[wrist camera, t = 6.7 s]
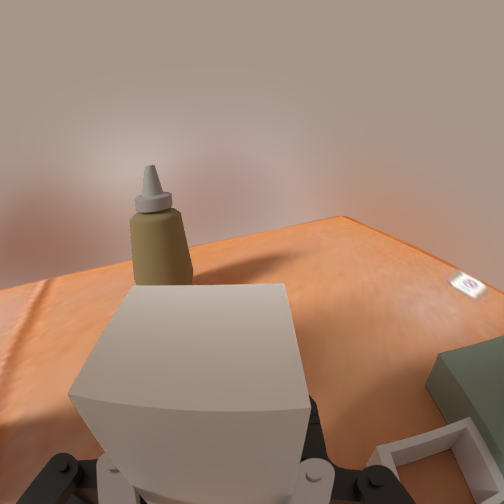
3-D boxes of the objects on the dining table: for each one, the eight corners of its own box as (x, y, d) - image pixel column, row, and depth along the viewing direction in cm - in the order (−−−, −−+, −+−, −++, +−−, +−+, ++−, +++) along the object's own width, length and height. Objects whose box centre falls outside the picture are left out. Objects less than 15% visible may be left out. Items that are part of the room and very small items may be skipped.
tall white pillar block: (191, 544, 10) (67, 394, 5) (196, 482, 14) (133, 285, 9) (276, 546, 10) (311, 407, 5) (273, 483, 14) (284, 283, 9)
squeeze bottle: (172, 321, 35) (150, 169, 29) (128, 305, 39) (104, 173, 32) (207, 292, 42) (196, 160, 36) (164, 281, 46) (149, 163, 39)
